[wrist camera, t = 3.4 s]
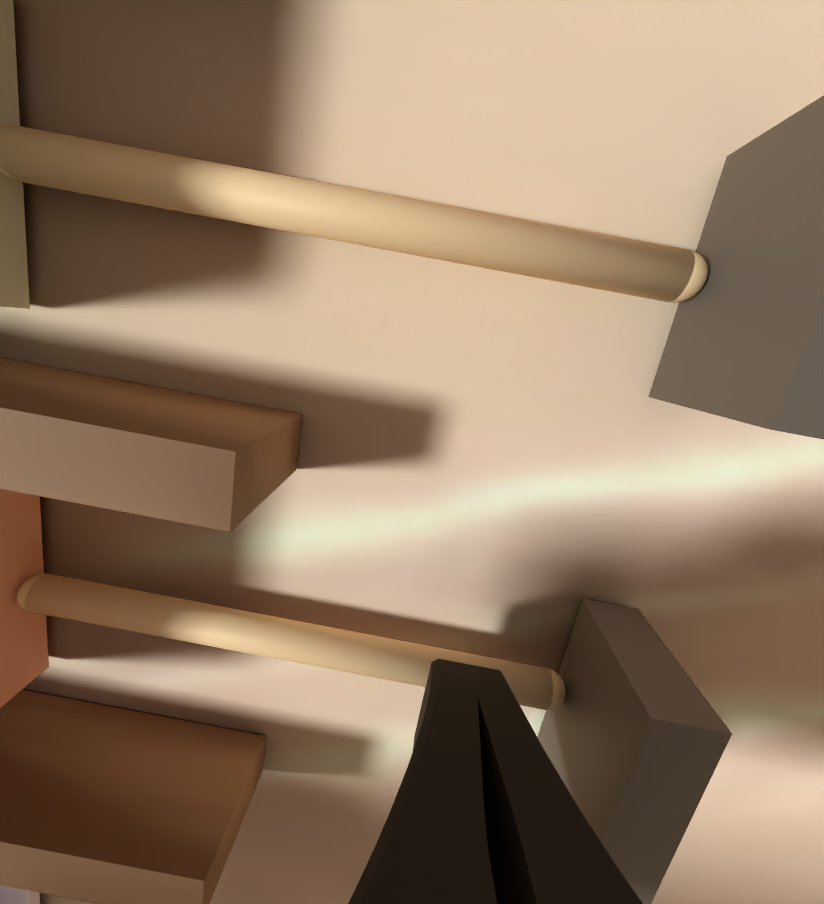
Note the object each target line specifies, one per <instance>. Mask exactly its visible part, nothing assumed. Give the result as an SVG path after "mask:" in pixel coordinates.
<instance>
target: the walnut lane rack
mask: <svg viewBox="0 0 824 904" xmlns="http://www.w3.org/2000/svg"><path fill="white" fill-rule="evenodd" d="M301 423H302V414H298V413H293V412H288V411H282V410H277V409H272V408H266V407H261V406H256V405H250V404H245V403H240V402H234V401H229V400H224V399H218V398H213V397H208V396H202V395H197V394H192V393H186V392H181V391H176V390H170V389H165V388H160V387H154V386H149V385H144V384H138V383H133V382H128V381H122V380H117V379H112V378H106V377H101V376H96V375H90V374H85V373H80V372H74V371H69V370H64V369H58V368H53V367H48V366H42V365H37V364H32V363H26V362H21V361H16V360H10V359H5V358H0V489H5V490H10V491H15V492H21V493H26V494H31V495H37V496H42V497H47V498H53V499H58V500H63V501H68V502H74V503H79V504H84V505H90V506H95V507H100V508H105V509H111V510H116V511H121V512H127V513H132V514H137V515H143V516H148V517H153V518H158V519H164V520H169V521H174V522H180V523H185V524H190V525H195V526H201V527H206V528H211V529H217V530H222V531H227V532H230V531H231V530H232V529H234V528H235V527H236V526H237V525H238V524H239V523H240V522H241V521H242V520H243V519H244V518H245V517H246V516H247V515H248V514H250V513H251V512H252V511H253V510H254V509H255V508H256V507H257V506H258V505H259V504H260V503H261V502H262V501H263V500H264V499H266V498H267V497H268V496H269V495H270V494H271V493H272V492H273V491H274V490H275V489H276V488H277V487H278V486H279V485H281V484H282V483H283V482H284V481H285V480H286V479H287V478H288V477H289V476H290V475H291V474H292V473H293V472H294V471H295V470H296V467H297V458H298V449H299V441H300V432H301ZM265 740H266V736H263V735H257V734H252V733H247V732H242V731H236V730H231V729H226V728H221V727H215V726H210V725H205V724H200V723H194V722H189V721H184V720H179V719H174V718H168V717H163V716H158V715H153V714H147V713H142V712H137V711H132V710H126V709H121V708H116V707H111V706H106V705H100V704H95V703H90V702H85V701H79V700H74V699H69V698H64V697H58V696H53V695H48V694H43V693H37V692H32V691H27V690H21V691H20V692H18V693H17V694H16V695H15V696H14V697H13V698H11V699H10V700H9V701H8V702H7V703H5V704H4V705H3V706H2V707H1V708H0V885H3V886H8V887H13V888H18V889H24V890H29V891H34V892H39V893H44V894H49V895H55V896H60V897H65V898H70V899H75V900H81V901H86V902H91V903H96V904H209V903H210V900H211V898H212V895H213V893H214V890H215V888H216V885H217V883H218V880H219V878H220V875H221V873H222V870H223V868H224V865H225V863H226V860H227V858H228V855H229V853H230V850H231V848H232V845H233V843H234V840H235V838H236V835H237V833H238V830H239V828H240V825H241V823H242V820H243V818H244V815H245V813H246V810H247V808H248V805H249V803H250V800H251V798H252V795H253V793H254V790H255V788H256V785H257V783H258V780H259V778H260V775H261V773H262V767H263V758H264V749H265Z"/></svg>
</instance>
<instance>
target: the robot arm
mask: <svg viewBox="0 0 824 904" xmlns="http://www.w3.org/2000/svg"><path fill="white" fill-rule="evenodd" d="M0 904H40V893H39V892H34V891H29V890H24V889H18V888H13V887H8V886H3V885H0ZM348 904H643V903H642V901H641V900H640V899H639V897H638V896H637V894H636V893H635V891H634V890H633V889H632V887H631V886H630V884H629V883H628V881H627V880H626V878H625V877H624V876H623V874H622V873H621V871H620V870H619V868H618V867H617V865H616V864H615V862H614V861H613V859H612V858H611V856H610V855H609V853H608V852H607V850H606V849H605V847H604V846H603V844H602V843H601V841H600V839H599V838H598V836H597V835H596V833H595V832H594V830H593V829H592V827H591V826H590V824H589V823H588V821H587V819H586V818H585V816H584V815H583V813H582V812H581V810H580V808H579V807H578V805H577V804H576V802H575V800H574V799H573V797H572V795H571V794H570V792H569V790H568V789H567V787H566V785H565V784H564V782H563V780H562V779H561V777H560V775H559V774H558V772H557V770H556V769H555V767H554V765H553V764H552V762H551V760H550V759H549V757H548V755H547V754H546V752H545V750H544V748H543V747H542V745H541V743H540V741H539V740H538V738H537V736H536V734H535V732H534V731H533V729H532V727H531V725H530V723H529V722H528V720H527V718H526V716H525V714H524V712H523V711H522V709H521V707H520V705H519V703H518V701H517V699H516V698H515V696H514V694H513V692H512V690H511V688H510V686H509V684H508V683H507V681H506V679H505V677H504V675H503V674H502V672H501V671H500V670H496V669H491V668H486V667H480V666H475V665H470V664H465V663H459V662H454V661H449V660H443V659H437V660H435V661H433V662H431V666H430V671H429V675H428V679H427V684H426V688H425V693H424V697H423V701H422V706H421V710H420V714H419V719H418V723H417V728H416V732H415V738H414V747H413V754H412V756H411V759H410V762H409V765H408V768H407V770H406V773H405V775H404V778H403V780H402V783H401V786H400V788H399V791H398V793H397V796H396V798H395V801H394V804H393V806H392V809H391V811H390V814H389V816H388V818H387V821H386V823H385V825H384V828H383V830H382V832H381V835H380V837H379V839H378V841H377V844H376V846H375V848H374V850H373V853H372V855H371V857H370V859H369V861H368V863H367V866H366V868H365V870H364V872H363V874H362V876H361V879H360V881H359V883H358V885H357V887H356V889H355V891H354V893H353V895H352V897H351V899H350V901H349V903H348Z"/></svg>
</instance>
